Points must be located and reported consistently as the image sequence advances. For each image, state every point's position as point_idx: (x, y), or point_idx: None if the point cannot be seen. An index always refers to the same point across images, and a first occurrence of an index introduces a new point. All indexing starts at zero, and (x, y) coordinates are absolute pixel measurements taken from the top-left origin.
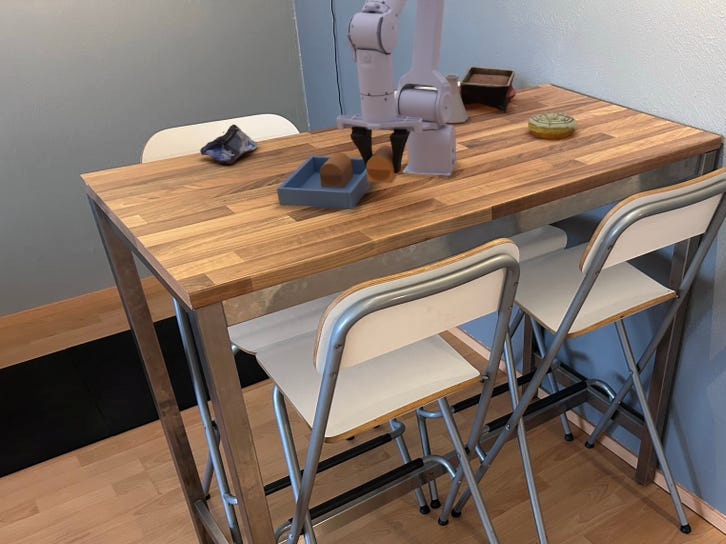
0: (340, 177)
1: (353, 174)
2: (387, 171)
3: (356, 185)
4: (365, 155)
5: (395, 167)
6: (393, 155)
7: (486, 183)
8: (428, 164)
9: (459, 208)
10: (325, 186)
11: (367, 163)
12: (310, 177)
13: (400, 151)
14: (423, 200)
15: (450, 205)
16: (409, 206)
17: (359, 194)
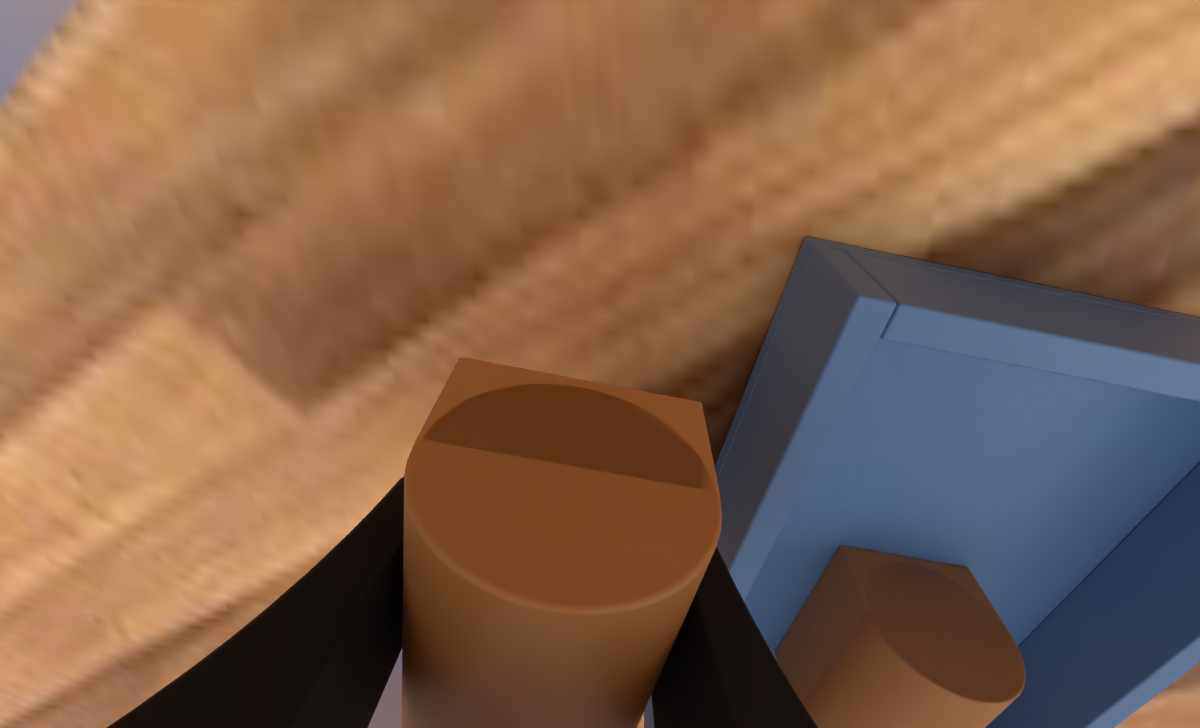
0: (875, 601)
1: None
2: (464, 433)
3: (792, 439)
4: (737, 681)
5: (393, 513)
6: (333, 637)
7: (89, 555)
8: (382, 698)
9: (72, 257)
10: (945, 564)
11: (709, 542)
12: None
13: (170, 684)
14: (351, 389)
15: (153, 307)
16: (417, 308)
17: (756, 416)
